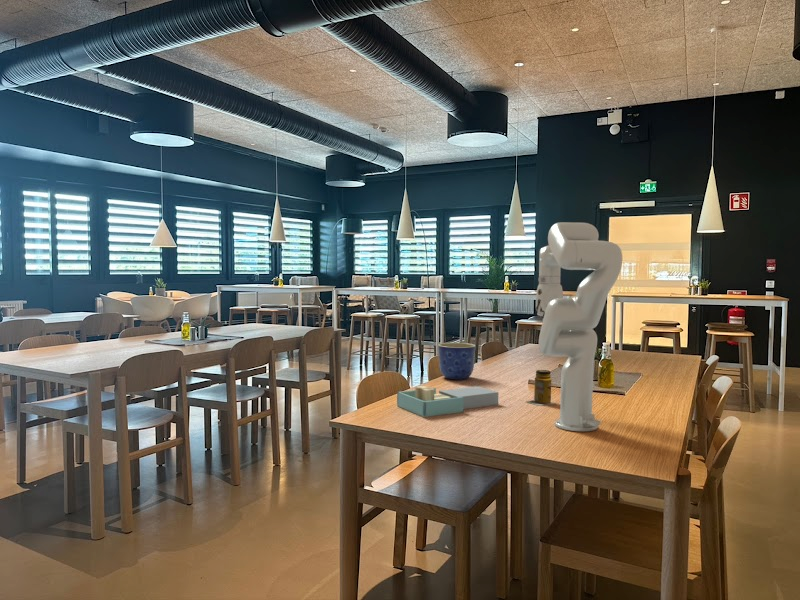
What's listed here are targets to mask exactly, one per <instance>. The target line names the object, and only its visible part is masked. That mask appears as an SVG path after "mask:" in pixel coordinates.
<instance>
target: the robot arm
mask: <svg viewBox="0 0 800 600" xmlns="http://www.w3.org/2000/svg"><path fill="white" fill-rule="evenodd" d="M547 235H548V236H547V242H548V243H547V245H546V246H543V247H541V248H540V249H539V259H538V265H539V266H538V273H539V274H538V280H537V281H538V285H537V288H536V289H537V290H536V295H535V311H536V312H537V313H536V315H537V316H540V317H541V318H542V319H541V320H542V323H541V327H540V332H539V336H538V349H539V351H540V352H541V354H542V355H544V356H547V357H567V360H566V361H565V362H564V363H563V365H562V367H561V373H560V411H559V412H560V414H559V418H557V419H555V421H554V425H555V427H557V428H559V429H561V430H565V431H572V432H584V433H585V432H592V431H595V430H597V429H598V428H599V426H601V423H602V422H601V420H599V419H595V418H596V417H595V416H596V415H595V413H593V392H594V389H593V388H594V386H593V385H594V364H595V363H594V362H595V356H596V351H597V346H598V335H597V333H596V331H595V330H594V329H595V328H596V327H597V326H598V324H599V322H600V319H601V316H602V314H603V311H604V308H605V305H606V303H607V302H606V301H607V299H608V296H609V294H610V291H611V290H612V288H613V286H614V285H615V283H616V282H617V280H618V278H619V275H620V273H621V270H622V266H623V252H622V249H621V247H620V246H619V245H618V244H617V243H614V242H612V241H608V240H607V241H606V240H599V235H600V234H599V231H598V229H597V228H596V226H594V225H593V224H590V223H588V222H571V221H570V222H569V221H568V222H567V221H566V222H563V221H562V222H561V221H560V222H556V223H554V224H552V226H551V227H550V229H549V231H548V234H547ZM561 269H563V270H570V271H574V270H575V271H580V270H581V271H592V272H591V273H590V274H588V275H587V276H586V277H585V278H583V280H581V282H580V283H579V285H578V286H577V289H576V293H575V295H574V297H564V292H563V291H564V290H563V286H562V285H561Z"/></svg>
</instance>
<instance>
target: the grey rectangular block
mask: <svg viewBox="0 0 800 600" xmlns="http://www.w3.org/2000/svg"><path fill="white" fill-rule="evenodd" d="M438 394H443V395H445V396H448V397H451V398H457V397H463V410H467V409H473V408H474V409H476V408H480V407H481V408H482V407H487V406H497V405H499V391H496V390H492V389H488V388H485V387H482V386H469V387H462V388H461V387H460V388H453V389H443V390H438Z"/></svg>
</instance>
